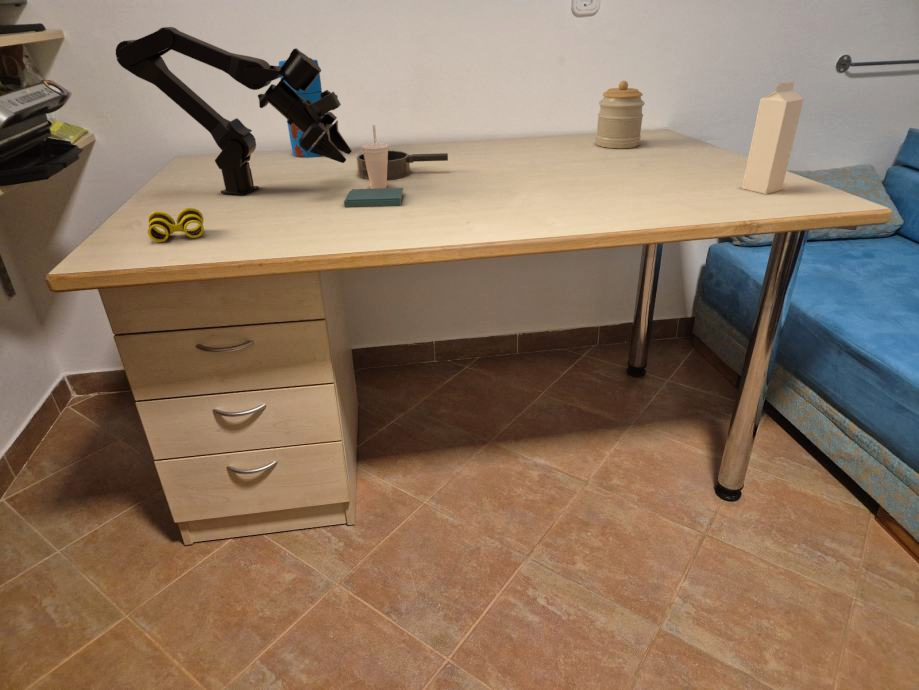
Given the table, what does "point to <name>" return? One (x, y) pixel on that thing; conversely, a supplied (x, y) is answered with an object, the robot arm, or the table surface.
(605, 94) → the jar
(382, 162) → the smoothie
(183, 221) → the opera glasses
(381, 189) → the teal flat block
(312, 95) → the thermos
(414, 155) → the pan handle
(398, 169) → the pan
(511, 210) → the table surface
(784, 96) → the milk
